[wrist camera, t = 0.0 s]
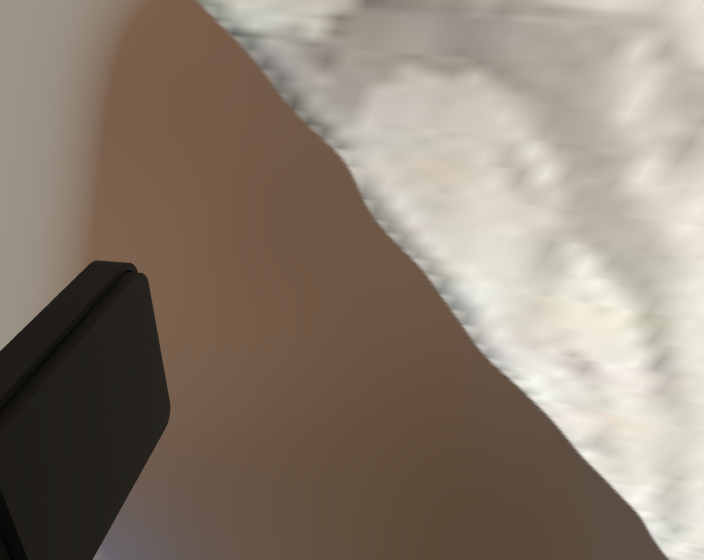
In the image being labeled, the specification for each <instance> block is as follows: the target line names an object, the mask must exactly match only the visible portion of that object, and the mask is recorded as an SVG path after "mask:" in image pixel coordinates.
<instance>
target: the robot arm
mask: <svg viewBox="0 0 704 560" xmlns="http://www.w3.org/2000/svg"><path fill="white" fill-rule="evenodd" d="M169 416H170V400H169V395H168V390H167V384H166V378H165V373H164V367H163V361H162V356H161V351H160V344H159V339H158V333H157V328H156V322H155V317H154V311H153V305H152V300H151V294H150V288H149V283H148V279H147V277H146V275H144V274H143V273H138V271H137V269H136V267H135V266H134V265H133V264H132V263H123V262H110V261H93V262H92V263H90V265H88V266H87V267H86V268H85V269H84V270H83V271H82V272H81V273H80V274H79V275H78V276H77V277H76V278H75V279H74V280H73V281H72V282H71V283H70V284H69V285H68V286H67V287H66V288H65V289H64V290H63V291H62V292H60V293H59V294H58V295H57V296H56V297H55V298H54V299H53V300H52V301H51V302H50V303H49V304H48V305H47V306H46V307H45V308H44V309H43V310H42V311H41V312H40V313H39V314H38V315H37V316H36V317H35V318H34V319H33V320H32V321H31V322H30V323H29V324H28V325H27V326H26V327H25V328H24V329H23V330H22V331H21V332H20V333H18V334H17V335H16V336H15V337H14V338H13V339H12V340H11V341H10V342H9V343H8V344H7V345H6V346H5V347H4V348H3V349H2V350H1V351H0V560H92V559H93V558H94V556H95V554H96V552H97V550H98V549H99V547H100V545H101V543H102V542H103V540H104V538H105V536H106V534H107V533H108V531H109V529H110V527H111V525H112V523H113V522H114V520H115V518H116V516H117V515H118V513H119V511H120V509H121V507H122V506H123V504H124V502H125V500H126V498H127V496H128V495H129V493H130V491H131V489H132V488H133V486H134V484H135V482H136V480H137V479H138V477H139V475H140V473H141V471H142V470H143V468H144V466H145V464H146V462H147V461H148V459H149V457H150V455H151V453H152V452H153V450H154V448H155V446H156V444H157V443H158V441H159V439H160V437H161V435H162V434H163V432H164V430H165V428H166V426H167V423H168V420H169Z"/></svg>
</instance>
